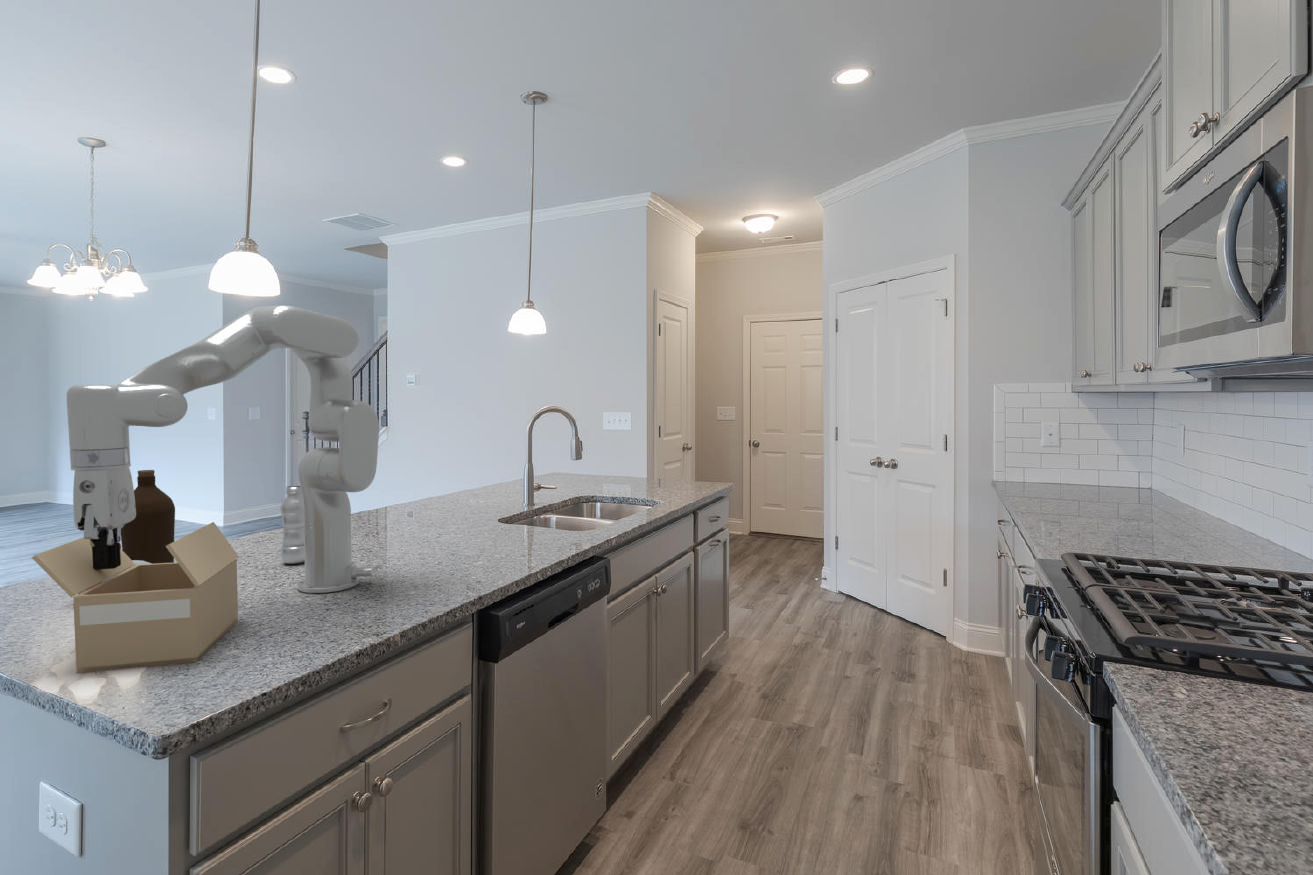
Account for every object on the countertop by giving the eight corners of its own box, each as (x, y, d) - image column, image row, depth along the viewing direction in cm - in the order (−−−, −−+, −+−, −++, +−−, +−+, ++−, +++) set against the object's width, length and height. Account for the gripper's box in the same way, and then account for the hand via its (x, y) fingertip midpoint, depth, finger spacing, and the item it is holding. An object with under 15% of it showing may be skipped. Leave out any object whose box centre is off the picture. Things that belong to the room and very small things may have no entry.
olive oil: (160, 578, 150) (157, 472, 148) (109, 580, 148) (105, 473, 147) (186, 567, 160) (183, 468, 159) (139, 568, 159) (135, 468, 157)
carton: (238, 620, 122) (236, 559, 122) (196, 662, 103) (194, 589, 103) (138, 628, 118) (136, 564, 117) (76, 673, 99) (72, 597, 98)
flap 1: (103, 530, 115) (99, 532, 115) (35, 555, 97) (31, 557, 96) (135, 563, 117) (132, 566, 117) (74, 594, 98) (71, 597, 98)
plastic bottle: (288, 560, 168) (286, 484, 167) (315, 559, 169) (313, 484, 168) (275, 566, 162) (274, 488, 161) (303, 566, 162) (302, 488, 161)
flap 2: (165, 546, 101) (169, 544, 102) (210, 523, 120) (213, 521, 120) (196, 587, 103) (199, 585, 103) (235, 558, 121) (238, 556, 122)
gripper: (105, 463, 100) (112, 578, 101) (147, 454, 114) (153, 555, 116) (46, 465, 98) (53, 582, 99) (96, 455, 112) (102, 558, 113)
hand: (107, 567), depth 107 cm, fingers closed
